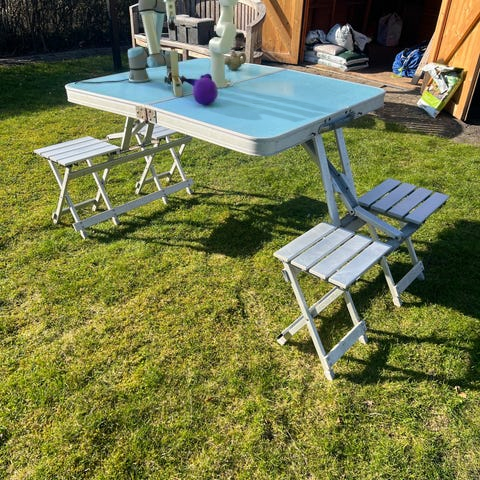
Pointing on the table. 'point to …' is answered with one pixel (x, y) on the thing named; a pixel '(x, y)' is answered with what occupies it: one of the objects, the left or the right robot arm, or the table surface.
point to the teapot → (235, 60)
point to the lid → (174, 62)
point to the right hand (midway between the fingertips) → (172, 29)
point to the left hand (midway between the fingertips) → (176, 82)
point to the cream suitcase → (177, 86)
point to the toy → (204, 89)
